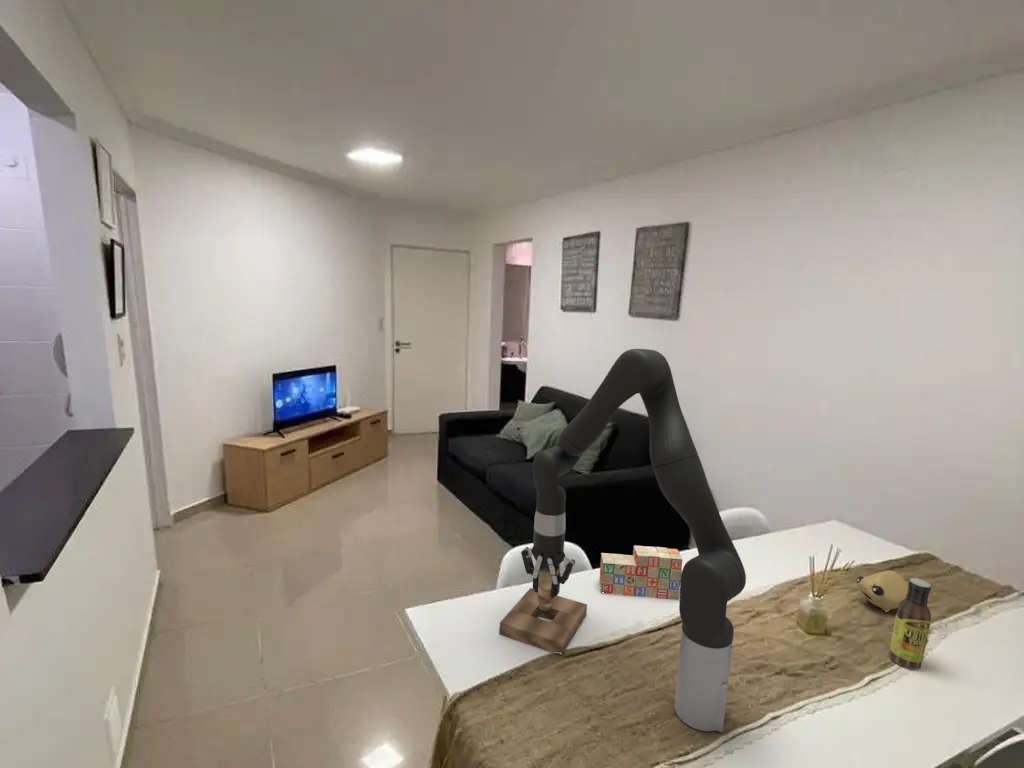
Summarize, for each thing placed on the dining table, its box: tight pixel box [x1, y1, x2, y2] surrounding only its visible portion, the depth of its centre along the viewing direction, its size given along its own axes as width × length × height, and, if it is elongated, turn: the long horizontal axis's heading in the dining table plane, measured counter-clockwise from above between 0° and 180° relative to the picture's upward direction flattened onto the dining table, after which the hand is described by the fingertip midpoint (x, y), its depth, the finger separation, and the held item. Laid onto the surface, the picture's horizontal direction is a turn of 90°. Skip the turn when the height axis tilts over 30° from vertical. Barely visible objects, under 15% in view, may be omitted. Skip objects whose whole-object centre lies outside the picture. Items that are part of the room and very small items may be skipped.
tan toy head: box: [855, 570, 909, 612], centre depth 143 cm, size 10×12×11 cm
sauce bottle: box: [888, 577, 932, 670], centre depth 119 cm, size 6×6×20 cm
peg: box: [537, 568, 554, 611], centre depth 128 cm, size 4×4×10 cm
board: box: [498, 587, 588, 653], centre depth 129 cm, size 16×18×3 cm
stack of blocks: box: [599, 545, 683, 601], centre depth 146 cm, size 21×6×12 cm, turn 85°
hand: (545, 593), depth 129 cm, fingers closed on peg, 4 cm apart
